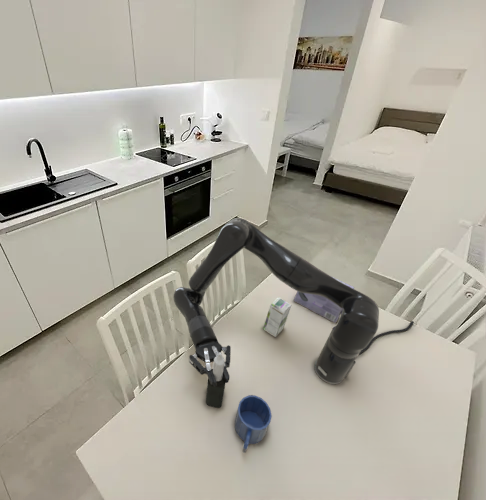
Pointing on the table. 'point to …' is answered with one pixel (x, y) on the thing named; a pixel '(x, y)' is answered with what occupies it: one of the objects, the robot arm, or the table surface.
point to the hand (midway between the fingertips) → (221, 382)
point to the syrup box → (277, 316)
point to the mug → (252, 420)
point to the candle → (217, 392)
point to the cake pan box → (320, 304)
